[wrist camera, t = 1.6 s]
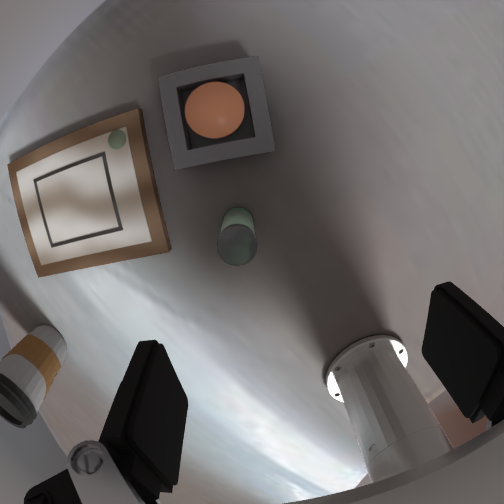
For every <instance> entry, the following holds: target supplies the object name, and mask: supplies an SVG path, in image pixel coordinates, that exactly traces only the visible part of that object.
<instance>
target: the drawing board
mask: <svg viewBox="0 0 504 504" xmlns="http://www.w3.org/2000/svg"><path fill="white" fill-rule="evenodd" d="M8 170H9V176H10V181H11V186H12V191H13V195H14V200H15V204H16V208H17V212H18V216H19V220H20V223H21V227H22V230H23V234H24V237H25V240H26V243H27V247H28V250H29V253H30V256H31V259H32V261H33V264H34V267H35V270H36V272H37V275H38V277H43V276H48V275H53V274H58V273H63V272H68V271H73V270H78V269H83V268H88V267H93V266H98V265H104V264H109V263H114V262H119V261H124V260H130V259H135V258H140V257H146V256H151V255H156V254H162V253H167V252H169V251H170V250H171V244H170V240H169V237H168V233H167V229H166V225H165V221H164V217H163V212H162V208H161V204H160V200H159V195H158V191H157V186H156V182H155V177H154V173H153V168H152V163H151V158H150V153H149V148H148V143H147V137H146V132H145V126H144V121H143V115H142V110H141V109H138V108H137V109H134V110H131V111H128V112H125V113H122V114H119V115H116V116H113V117H111V118H108V119H105V120H102V121H100V122H97V123H94V124H92V125H89V126H87V127H84V128H82V129H79V130H77V131H75V132H72V133H70V134H68V135H65V136H63V137H61V138H59V139H57V140H54V141H52V142H50V143H48V144H46V145H44V146H42V147H40V148H38V149H36V150H34V151H32V152H30V153H28V154H26V155H24V156H22V157H20V158H18V159H17V160H15V161H13V162H11V163H9V164H8Z"/></svg>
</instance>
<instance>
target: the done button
mask: <svg viewBox="0 0 504 504" xmlns="http://www.w3.org/2000/svg"><path fill="white" fill-rule="evenodd" d="M185 117H186V120H187V123H188V124H189V126H190V127H191V129H192V130H193V131H195V132H196V133H197V134H199V135H201V136H204V137H207V138H212V139H219V138H224V137H227V136H229V135H231V134H232V133H234V132H235V131H236V130H237V129H238V128H239V126H240V125H241V123H242V121H243V118H244V102H243V99H242V97H241V95H240V93H239V92H238V91H237V90H236V89H235V88H234V87H232V86H231V85H229V84H226V83H223V82H209V83H206V84H203V85H201V86H199V87H198V88H196V89H195V90H194V91H193V92H192V93H191V94H190V96H189V97H188V99H187V102H186V105H185Z"/></svg>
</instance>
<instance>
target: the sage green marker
mask: <svg viewBox="0 0 504 504" xmlns="http://www.w3.org/2000/svg"><path fill="white" fill-rule="evenodd" d="M217 251H218V254H219V256H220V257H221V259H222V260H223V261H225V262H226V263H228V264H230V265H235V266H239V265H244V264H246V263H248V262H250V261H251V260H252V259H253V258H254V256H255V254H256V251H257V242H256V237H255V230H254V224H253V217H252V215H251V213H250V212H249V211H248V210H246V209H245V208H242V207H235V208H232V209H230V210H229V211H228V212H227V213H226V214H225V216H224V219H223V224H222V227H221V231H220V235H219V238H218V242H217Z"/></svg>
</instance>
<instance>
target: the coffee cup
mask: <svg viewBox="0 0 504 504" xmlns="http://www.w3.org/2000/svg"><path fill="white" fill-rule="evenodd" d="M66 356H67V345H66V342H65V340H64V339H63V337H62V336H61V335H60V333H59V332H58V331H56V330H55V329H54V328H52V327H50V326H48V325H42V326H41V325H40V326H37V327H36V328H35V329H34V330H33V331H32V332H31V333H30V334H28V335H27V336H25V337H24V338H23V339H22V340H21V341H20V342H19V343H18V344H17V345H16V346H15V347H14V348H13V349H12V350H11V351H10V352H9V353H8V354H7V355H6V356H5V357H4V358H3V359H2V360H1V362H0V416H1V417H2V418H4V419H5V420H6V421H8V422H9V423H11V424H12V425H14V426H16V427H19V428H25V427H26V426H27V425H29V424H32V422H33V420H34V419H35V418H36V416H37V411H38V409H39V407H40V405H41V403H42V401H43V400H44V398H45V396H46V394H47V392H48V390H49V388H50V386H51V385H52V383H53V381H54V379H55V377H56V375H57V373H58V371H59V369H60V368H61V365H62V363H63V361H64V359H65V357H66Z"/></svg>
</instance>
